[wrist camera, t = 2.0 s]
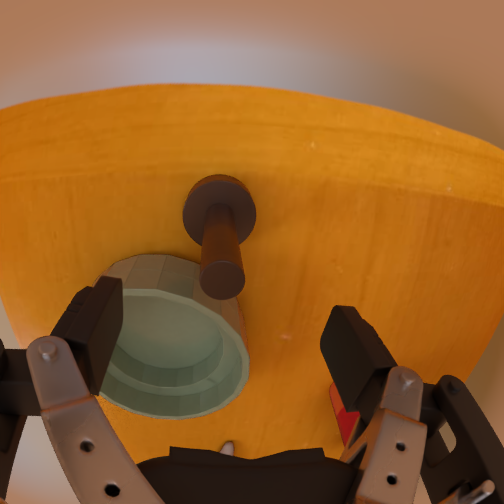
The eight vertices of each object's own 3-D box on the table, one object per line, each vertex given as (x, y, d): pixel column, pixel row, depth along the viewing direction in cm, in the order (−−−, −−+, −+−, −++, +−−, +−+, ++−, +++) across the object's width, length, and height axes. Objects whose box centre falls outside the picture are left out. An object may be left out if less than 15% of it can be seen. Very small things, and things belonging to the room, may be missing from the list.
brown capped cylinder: (172, 200, 23) (138, 270, 12) (227, 161, 22) (237, 199, 11) (211, 249, 25) (211, 344, 14) (265, 214, 24) (302, 291, 14)
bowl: (63, 305, 25) (39, 343, 20) (172, 216, 23) (159, 246, 18) (161, 392, 31) (157, 433, 26) (272, 335, 29) (284, 379, 24)
